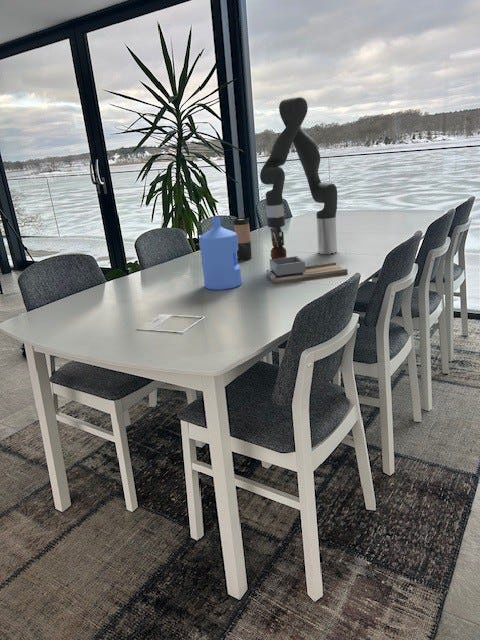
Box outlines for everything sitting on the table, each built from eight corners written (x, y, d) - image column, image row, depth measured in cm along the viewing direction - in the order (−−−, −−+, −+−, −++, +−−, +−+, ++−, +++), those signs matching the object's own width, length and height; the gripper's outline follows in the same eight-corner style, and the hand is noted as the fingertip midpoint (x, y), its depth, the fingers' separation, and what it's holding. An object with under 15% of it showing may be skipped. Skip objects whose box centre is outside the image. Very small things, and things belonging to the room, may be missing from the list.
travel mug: (254, 257, 253) (251, 217, 246) (248, 260, 246) (244, 219, 240) (241, 257, 256) (237, 217, 250) (234, 260, 250) (230, 220, 243)
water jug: (214, 293, 197) (205, 221, 188) (198, 285, 211) (190, 218, 201) (248, 285, 204) (242, 215, 194) (231, 278, 217) (225, 213, 208)
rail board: (266, 276, 214) (266, 269, 213) (335, 267, 218) (335, 260, 217) (274, 284, 201) (273, 277, 200) (347, 274, 205) (347, 267, 204)
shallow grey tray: (270, 273, 213) (269, 259, 211) (297, 269, 215) (296, 256, 213) (277, 280, 202) (276, 265, 200) (305, 276, 203) (305, 261, 201)
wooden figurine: (288, 262, 223) (285, 228, 218) (285, 265, 218) (282, 231, 213) (273, 262, 226) (271, 229, 221) (270, 265, 221) (267, 231, 216)
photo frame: (160, 313, 176) (205, 316, 169) (161, 316, 177) (205, 319, 169) (136, 327, 164) (183, 331, 156) (136, 331, 164) (183, 334, 157)
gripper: (263, 214, 221) (266, 251, 227) (270, 218, 208) (274, 257, 213) (279, 212, 222) (282, 249, 228) (288, 216, 209) (291, 255, 214)
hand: (278, 253), depth 220 cm, fingers closed on wooden figurine, 6 cm apart
